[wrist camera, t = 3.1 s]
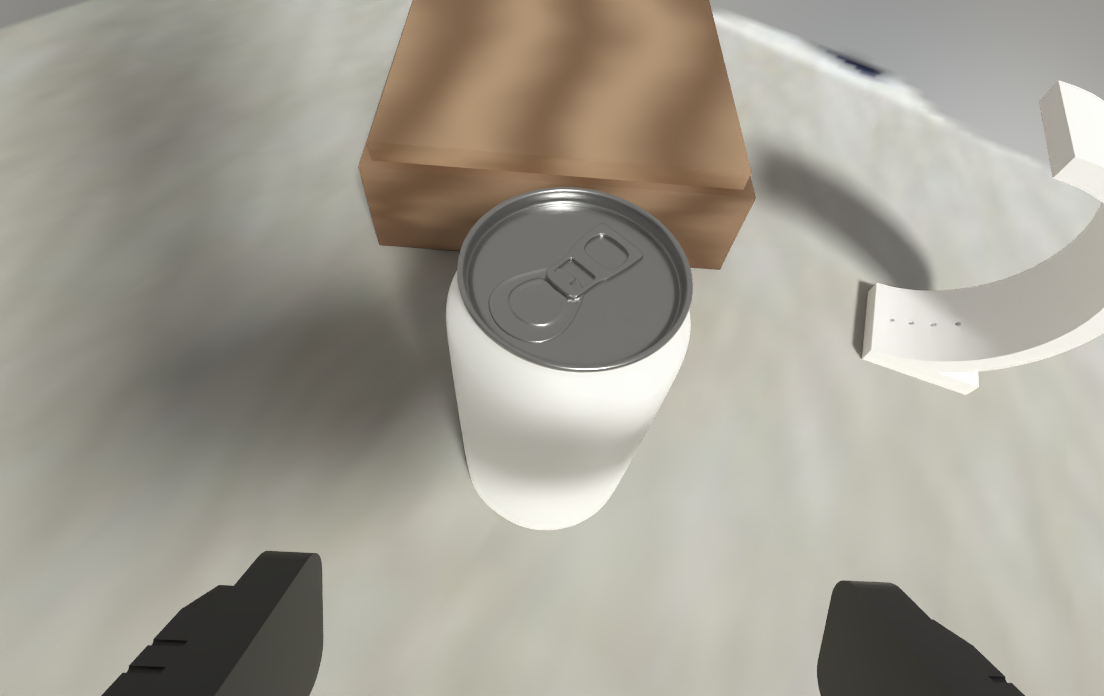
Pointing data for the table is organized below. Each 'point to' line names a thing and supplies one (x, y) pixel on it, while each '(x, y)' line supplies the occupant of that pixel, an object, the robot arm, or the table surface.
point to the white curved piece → (1008, 281)
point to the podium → (557, 118)
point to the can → (563, 347)
